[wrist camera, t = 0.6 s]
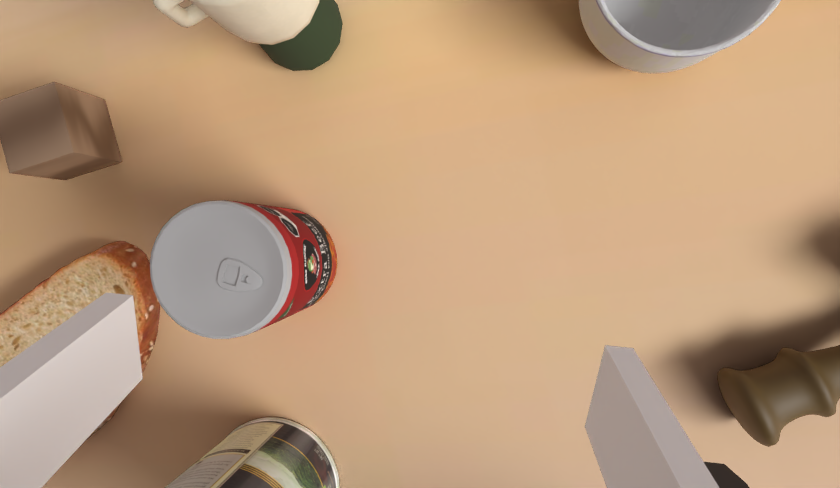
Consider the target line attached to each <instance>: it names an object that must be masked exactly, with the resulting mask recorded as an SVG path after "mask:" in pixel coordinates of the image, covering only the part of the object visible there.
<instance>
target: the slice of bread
mask: <svg viewBox="0 0 840 488" xmlns="http://www.w3.org/2000/svg"><path fill="white" fill-rule="evenodd" d="M105 293H115V294H125V295H133V299H134V308H135V316H136V325H137V334H138V342H139V351H140V360H141V368H142V373H143V371H144V369H145V367H146V364H147V362H148V359H149V357H150V354H151V351H152V349H153V347H154V344H155V341H156V336H157V331H158V324H159V314H160V303H159V301H158V299H157V297H156V294H155V292H154V290H153V286H152V282H151V277H150V263H149V261H148V259H147V257H146V255H145V253H144V252H143V251H142V250H140V249H139V248H138V247H136V246H134V245H132V244H129V243H127V242H124V241H117V242H114V243H110V244H107V245H105V246H103V247H101V248H100V249H98V250H96V251H94V252H92V253H89V254H87V255H85V256H82V257H80V258H78V259H76V260H74V261H73V262H71V263H70V264H69V265H67V266H64V267H62V268H60V269H59V270H57V271H56V272H55V273H54V274H53V275H52V276H51V277H50V278H48V279H46V280H44V281H43V282H41V283H40V284H39V285H37V286H36V287H35V288H34V289H33V290H32V291H30V292H29V293H27V294H26V295H24V296H23V297H22V298H21V299H20V300H18V301H17V302H16V303H14V304H13V305H12V306H10V307H9V308H8V309H7V310H5V311H4V312H2V313H1V314H0V367H2V366H3V365H4V364H6V363H7V362H9V361H10V360H11V359H13V358H14V357H16V356H17V355H19V354H20V353H21V352H23V351H24V350H26V349H27V348H28V347H30V346H31V345H33V344H34V343H35V342H37V341H38V340H40V339H41V338H43V337H44V336H45V335H47V334H48V333H50V332H51V331H52V330H54V329H55V328H57V327H58V326H59V325H61V324H62V323H64V322H65V321H66V320H68V319H69V318H71V317H72V316H74V315H75V314H76V313H78V312H79V311H81V310H82V309H83V308H85V307H86V306H88V305H89V304H90V303H92V302H93V301H95V300H96V299H98V298H99V297H100V296H102V295H103V294H105ZM119 405H120V404H119ZM119 405H118V406H117V407H116V408H115V409H114V410H113V411H112V412H111V413H110V414H109V415H108V417H107V418H106V419H105V420H104V421H103V422H102V423H101V424H100V425H99V426H98V427H97V428H96V429H95V431H94V432H93V433H95V432H96V431H98V430H99V429H100V428H101V427H102V426H103V425H104V424H105V423H106V422H108V421H109V420H110V419H111V418H112V417H113V416H114V414H115V412H116V410H117V409H118V407H119ZM93 433H92V434H93ZM92 434H91V435H92ZM91 435H90V436H91ZM90 436H89V437H90ZM89 437H88V438H89ZM88 438H87V439H88ZM87 439H86V440H87Z"/></svg>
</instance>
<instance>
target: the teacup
mask: <svg viewBox="0 0 840 488" xmlns="http://www.w3.org/2000/svg"><path fill="white" fill-rule="evenodd" d="M780 1H781V0H579V11H580V16H581V20H582V23H583V27H584V29H585V31H586V33H587V35H588V37H589V39H590V40H591V42H592V43H593V44H594V46H595V47H596V48H597V49H598V51H599V52H600V53H602V54H603V55H604V56H605V57H606V58H607V59H609V60H610V61H612V62H613V63H615V64H617V65H619V66H621V67H623V68H626V69H629V70H632V71H636V72H641V73H667V72H672V71H676V70H680V69H683V68H686V67H689V66H691V65H694V64H696V63H698V62H700V61H702V60H704V59H706V58H708V57H709V56H711V55H713V54H715V53H716V52H718V51H720V50H722V49H725V48H727V47H729V46H731V45H733V44H735V43H736V42H738V41H740V40H741V39H743V38H745V37H746V36H748V35H749V34H750V33H751V32H752V31H754V30H755V29H756V28H757V27H758V26H760V25H761V24H762V23H763V22H764V21H765V19H766V18H767V17H768V16H769V15H770V14H771V13H772V12H773V11H774V9H775V8H776V7H777V5H778V4H779V2H780Z"/></svg>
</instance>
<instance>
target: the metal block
mask: <svg viewBox="0 0 840 488" xmlns="http://www.w3.org/2000/svg"><path fill="white" fill-rule="evenodd" d="M0 140H1V144H2V147H3V151H4V154H5V158H6V162H7V165H8V169H9V173H13V174H21V175H29V176H36V177H44V178H52V179H60V180H67V179H70V178H74V177H77V176H80V175H83V174H86V173H89V172H92V171H96V170H99V169H102V168H105V167H108V166H111V165H114V164H117V163H121V162H122V159H121V155H120V152H119V148H118V145H117V141H116V137H115V134H114V130H113V127H112V123H111V119H110V116H109V112H108V109H107V105H106V101H105V100H104V99H101V98H98V97H95V96H93V95H90V94H87V93H84V92H82V91H79V90H76V89H73V88H70V87H68V86H65V85H62V84H59V83H56V82H52V83H49V84H46V85H43V86H40V87H37V88H35V89H32V90H29V91H26V92H23V93H20V94H17V95H14V96H11V97H8V98H5V99H2V100H0Z"/></svg>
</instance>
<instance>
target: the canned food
mask: <svg viewBox="0 0 840 488" xmlns="http://www.w3.org/2000/svg"><path fill="white" fill-rule="evenodd" d="M336 269H337V254H336V250H335V246H334V243H333V241H332V239H331V237H330V235H329V233H328V232H327V231H326V229H325V228H324V227H323V226H322V225H321V224H320V223H319V222H318V221H317V220H316V219H314V218H313V217H311V216H309V215H308V214H306V213H303V212H300V211H298V210H293V209H287V208H279V207H272V206H265V205H258V204H251V203H244V202H236V201H226V200H224V201H207V202H202V203H198V204H194V205H192V206H190V207H187V208H185V209H183V210H181V211H180V212H179V213H177V214H176V215H174V216H173V217H172V218H171V219H170V220H169V221H168V222H167V223H166V224H165V225H164V227H163V228H162V229H161V231H160V233H159V234H158V236H157V238H156V240H155V243H154V246H153V249H152V252H151V259H150V277H151V282H152V286H153V290H154V292H155V294H156V297H157V299H158V301H159V303H160V305H161V306H162V307H163V309H164V310H165V311H166V313H167V314H168V315H169V316H170V317H171V318H172V319H173V320H174V321H175V322H176V323H177V324H179V325H180V326H182V327H183V328H185V329H186V330H188V331H190V332H192V333H195V334H197V335H200V336H203V337H208V338H213V339H229V338H235V337H240V336H245V335H248V334H250V333H252V332H255V331H258V330H260V329H262V328H265V327H267V326H269V325H271V324H273V323H276V322H278V321H280V320H282V319H284V318H286V317H288V316H291V315H293V314H295V313H297V312H299V311H301V310H303V309H306V308H308V307H310V306H312V305H313V304H315V303H316V302H318V301H319V300H320V299H321V298H322V297H323V296H324V295H325V294H326V293H327V292H328V290H329V288H330V287H331V285H332V283H333V280H334V278H335V275H336Z"/></svg>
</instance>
